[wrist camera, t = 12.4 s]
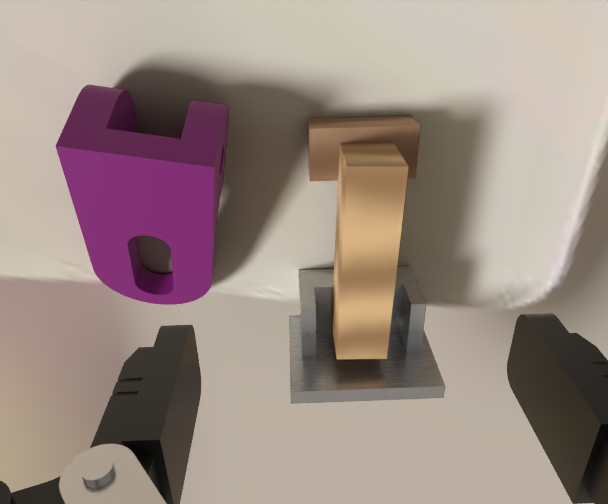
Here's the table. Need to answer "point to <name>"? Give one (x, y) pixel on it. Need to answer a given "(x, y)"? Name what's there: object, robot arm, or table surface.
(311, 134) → the rest block
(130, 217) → the mounting bracket
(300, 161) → the table surface
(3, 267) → the table surface
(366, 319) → the rail
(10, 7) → the table surface
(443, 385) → the bracket
